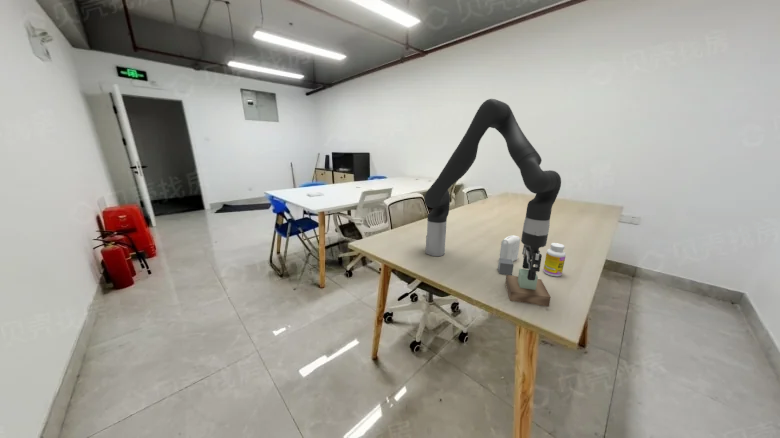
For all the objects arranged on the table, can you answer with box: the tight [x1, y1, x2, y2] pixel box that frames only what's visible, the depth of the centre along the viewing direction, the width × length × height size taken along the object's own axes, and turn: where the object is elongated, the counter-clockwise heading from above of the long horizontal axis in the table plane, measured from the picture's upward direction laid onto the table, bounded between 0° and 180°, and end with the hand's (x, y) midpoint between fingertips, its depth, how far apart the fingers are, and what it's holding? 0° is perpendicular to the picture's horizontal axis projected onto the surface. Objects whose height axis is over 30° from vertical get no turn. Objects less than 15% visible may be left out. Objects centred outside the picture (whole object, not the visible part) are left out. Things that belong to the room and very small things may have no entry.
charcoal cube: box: [497, 257, 514, 276], centre depth 106 cm, size 5×5×5 cm
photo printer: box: [499, 234, 521, 263], centre depth 115 cm, size 10×4×12 cm, turn 123°
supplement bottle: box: [542, 242, 567, 277], centre depth 103 cm, size 7×7×13 cm
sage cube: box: [517, 268, 539, 290], centre depth 89 cm, size 5×5×5 cm
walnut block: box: [505, 274, 551, 307], centre depth 90 cm, size 12×12×4 cm
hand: (528, 273), depth 88 cm, fingers open, 8 cm apart
